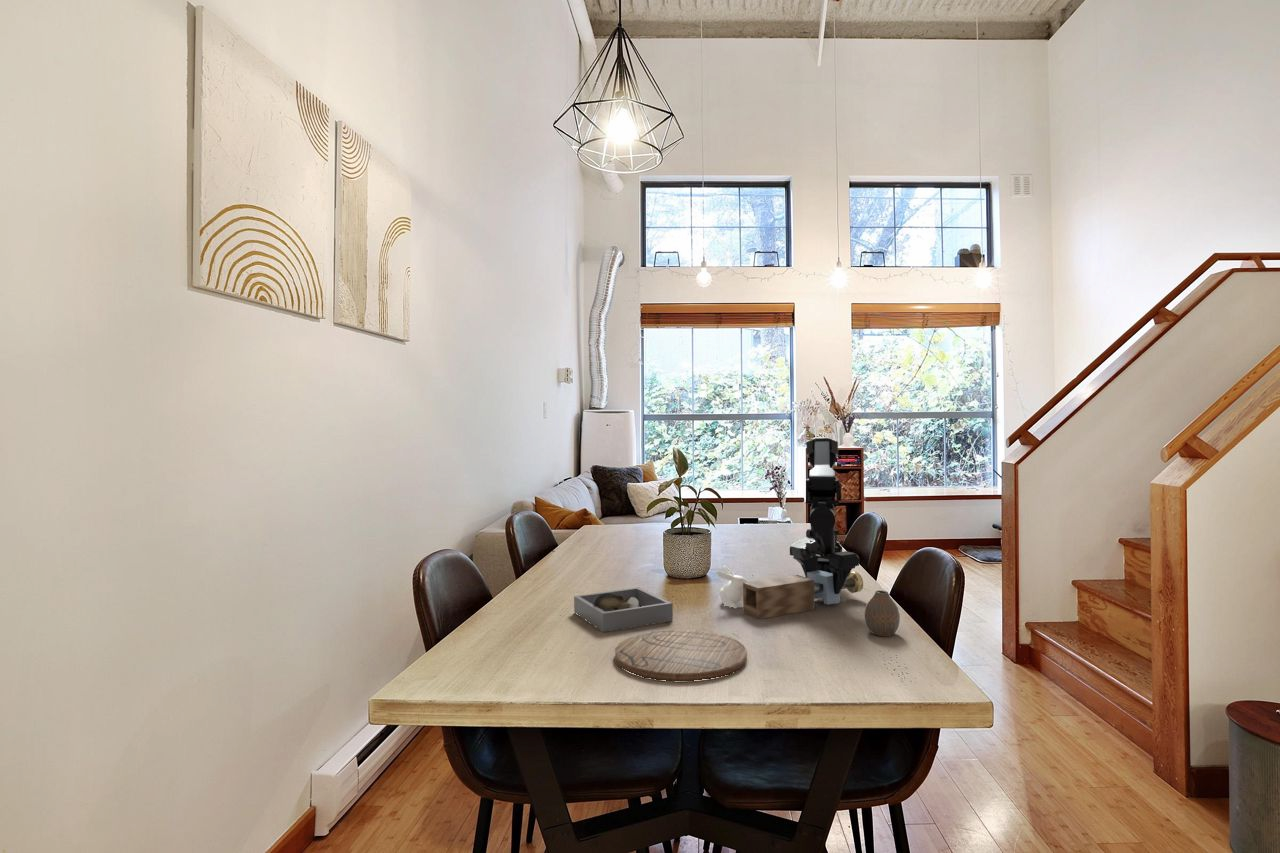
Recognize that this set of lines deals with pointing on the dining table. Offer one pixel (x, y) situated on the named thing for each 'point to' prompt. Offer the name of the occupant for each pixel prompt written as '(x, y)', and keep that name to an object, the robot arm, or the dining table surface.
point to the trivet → (680, 655)
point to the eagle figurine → (615, 602)
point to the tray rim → (624, 610)
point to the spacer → (825, 586)
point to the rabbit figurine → (731, 588)
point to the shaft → (845, 584)
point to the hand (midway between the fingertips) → (823, 589)
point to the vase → (882, 614)
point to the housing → (778, 596)
